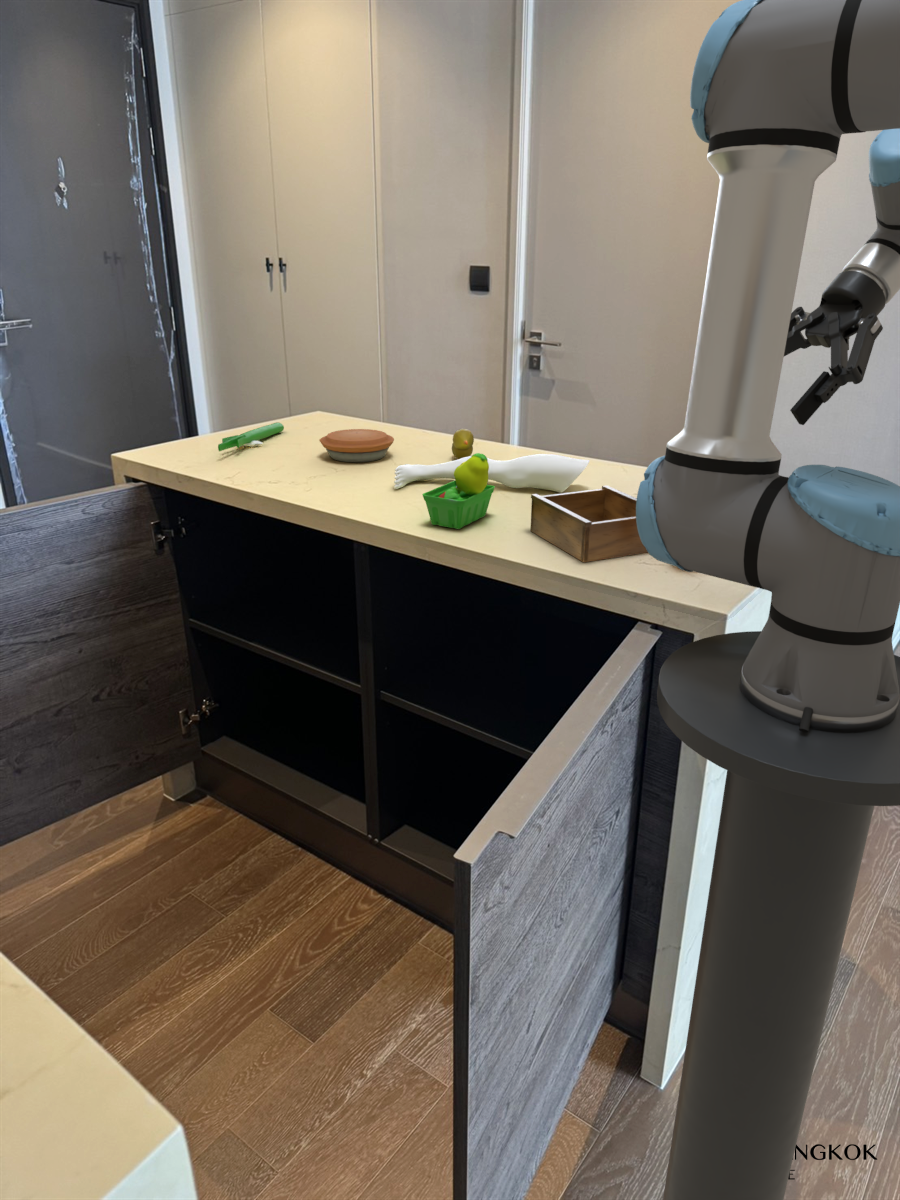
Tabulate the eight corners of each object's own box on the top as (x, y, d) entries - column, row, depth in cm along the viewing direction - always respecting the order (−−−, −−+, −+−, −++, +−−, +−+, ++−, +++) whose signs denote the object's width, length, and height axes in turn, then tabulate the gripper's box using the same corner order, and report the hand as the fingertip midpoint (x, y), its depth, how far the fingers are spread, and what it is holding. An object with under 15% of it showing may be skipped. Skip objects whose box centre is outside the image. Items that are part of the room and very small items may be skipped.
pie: (361, 445, 191) (360, 422, 189) (409, 456, 181) (409, 432, 179) (305, 456, 181) (304, 432, 179) (353, 469, 171) (352, 444, 169)
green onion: (270, 435, 204) (209, 456, 177) (270, 421, 203) (208, 440, 176) (290, 436, 203) (231, 458, 176) (289, 422, 202) (230, 442, 175)
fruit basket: (456, 508, 146) (456, 442, 142) (502, 516, 142) (504, 448, 138) (420, 525, 137) (419, 455, 133) (469, 534, 133) (469, 462, 128)
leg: (589, 460, 148) (590, 447, 158) (391, 464, 154) (403, 451, 164) (589, 498, 151) (589, 483, 160) (394, 500, 157) (406, 485, 166)
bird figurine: (455, 467, 172) (455, 435, 170) (448, 451, 186) (448, 420, 184) (477, 467, 173) (477, 434, 170) (468, 450, 186) (468, 420, 184)
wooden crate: (663, 550, 126) (667, 511, 124) (583, 562, 121) (585, 522, 119) (604, 520, 140) (607, 485, 137) (529, 530, 135) (531, 494, 132)
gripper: (955, 315, 107) (843, 445, 107) (804, 303, 128) (711, 412, 128) (935, 270, 103) (818, 404, 103) (782, 265, 124) (686, 377, 124)
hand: (758, 409), depth 115 cm, fingers open, 13 cm apart
